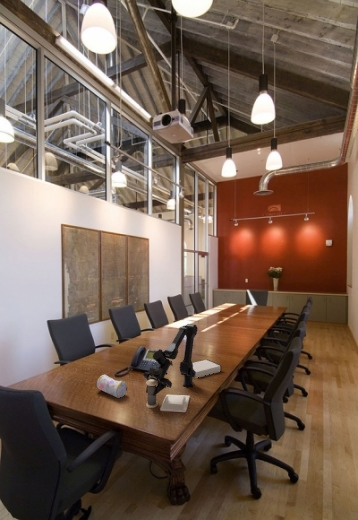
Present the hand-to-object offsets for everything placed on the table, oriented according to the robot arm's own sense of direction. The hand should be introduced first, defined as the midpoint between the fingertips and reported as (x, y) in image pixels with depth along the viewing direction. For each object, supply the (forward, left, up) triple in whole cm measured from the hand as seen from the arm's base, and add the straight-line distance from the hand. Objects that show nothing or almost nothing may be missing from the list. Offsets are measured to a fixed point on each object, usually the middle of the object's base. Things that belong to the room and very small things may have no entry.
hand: (150, 394), depth 153 cm
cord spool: (-1, +1, -7) cm, 7 cm away
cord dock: (-4, +14, -7) cm, 16 cm away
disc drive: (-57, +25, -7) cm, 63 cm away
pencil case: (-13, -28, -7) cm, 32 cm away
